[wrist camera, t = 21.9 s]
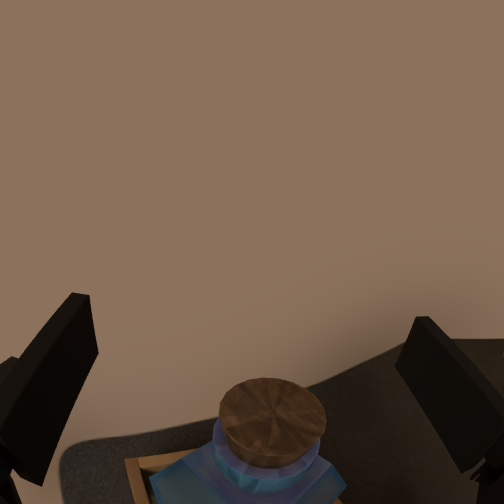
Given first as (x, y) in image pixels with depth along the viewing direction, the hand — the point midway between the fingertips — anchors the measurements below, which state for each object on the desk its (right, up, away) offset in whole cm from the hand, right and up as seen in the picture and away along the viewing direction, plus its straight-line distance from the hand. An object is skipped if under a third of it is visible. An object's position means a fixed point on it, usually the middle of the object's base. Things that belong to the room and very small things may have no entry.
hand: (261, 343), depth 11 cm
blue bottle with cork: (-1, -13, +1) cm, 13 cm away
